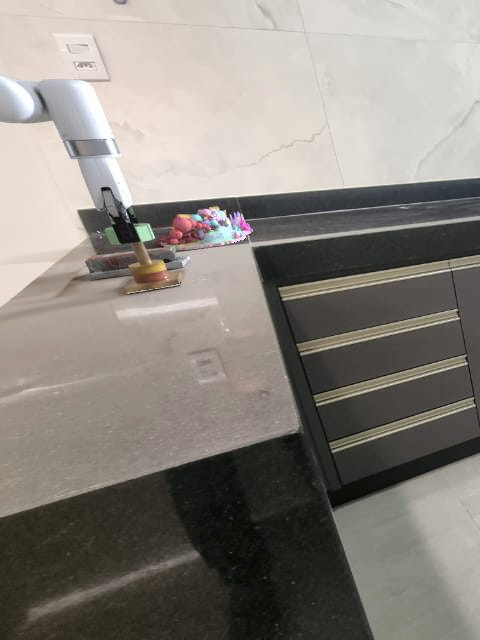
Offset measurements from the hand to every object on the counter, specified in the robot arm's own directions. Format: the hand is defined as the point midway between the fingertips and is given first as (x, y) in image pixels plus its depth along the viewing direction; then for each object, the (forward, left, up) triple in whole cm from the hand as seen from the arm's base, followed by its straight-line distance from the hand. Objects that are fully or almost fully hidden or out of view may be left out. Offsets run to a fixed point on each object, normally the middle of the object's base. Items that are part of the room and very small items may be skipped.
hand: (132, 239), depth 112 cm
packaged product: (-4, +21, -11) cm, 24 cm away
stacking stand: (0, 0, -10) cm, 10 cm away
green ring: (0, 0, 0) cm, 0 cm away
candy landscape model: (+9, +53, -11) cm, 55 cm away
